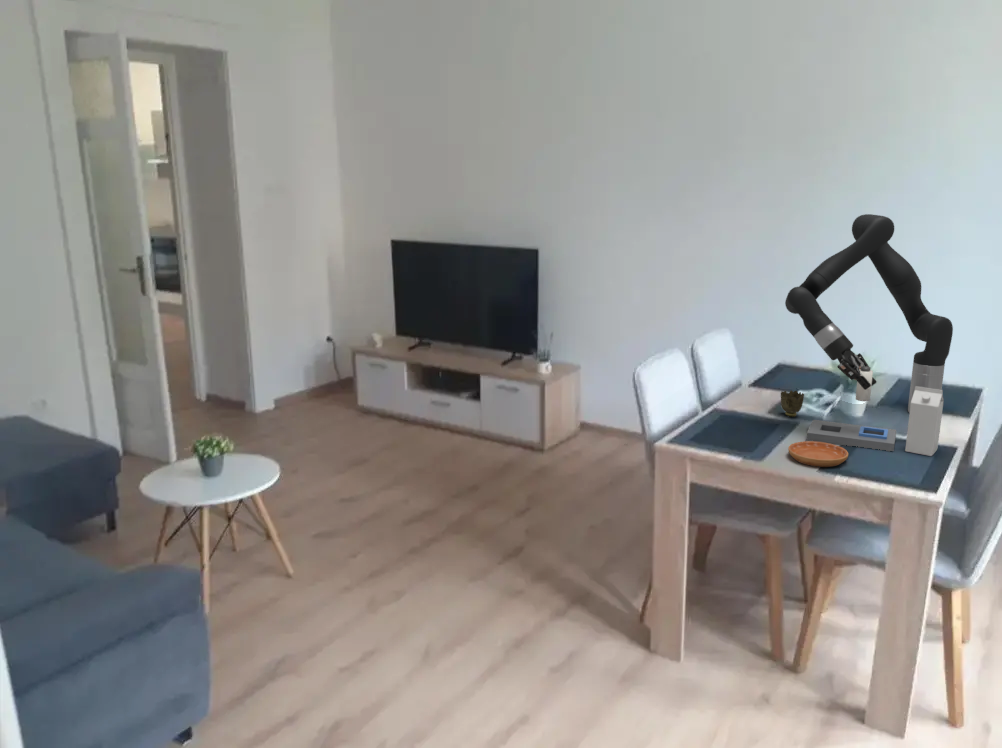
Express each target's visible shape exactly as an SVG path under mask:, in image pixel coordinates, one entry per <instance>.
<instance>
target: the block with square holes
mask: <svg viewBox="0 0 1002 748" xmlns="http://www.w3.org/2000/svg"><path fill="white" fill-rule="evenodd" d="M896 437H897V429H893V428H891V429H890V428H886V427H885V428H884V427H875V426H868V425H861V424H860V425H859V424H853V423H851V424H850V423H845V422H844V423H843V422H834V421H827V420H818V419H812V421H811V423H810V425H809V428H808V430H807V431H806V437H805V438H806V441H815V442H824V443H830V444H834V445H837V446H846V445H847V447H852V446H856V447H855V448H860V447H864V448H863V449H867V448H872V449H871V450H875V449H878V450H877V451H882V450H886V451H885V452H890V451H895V443H896V439H897V438H896ZM857 446H858V447H857ZM879 449H880V450H879Z"/></svg>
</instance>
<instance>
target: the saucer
mask: <svg viewBox="0 0 1002 748" xmlns="http://www.w3.org/2000/svg"><path fill="white" fill-rule="evenodd" d="M787 449H788V454H790V456H791V457H792V458H793V459H794V460H795V461H797V462H798V463H801V464H804V465H807V466H812V467H818V466H819V467H820V468H830V467H836V466H839V465H841V464H842V463H845V461H846V460H847V459H848V457H849V452H848V451H847V449H845V448H844V447H842V446H841V445H837V444H830V443H824V442H815V441H807V440H806V441H799V442H794V443H791V444H790V445H789V446H788V448H787ZM819 467H818V468H819Z"/></svg>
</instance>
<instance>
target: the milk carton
mask: <svg viewBox="0 0 1002 748" xmlns="http://www.w3.org/2000/svg"><path fill="white" fill-rule="evenodd" d="M943 392H944V390H943V389H942V390H938V389H931V388H924V387H917V386H915V391H914V394H913V397H912V400H911V406H910V413H909V416H908V425H907V432H906V441H905V448H904V449H905V450H904V451H905V452H908V453H913V454H917V455H918V454H919V455H923V456H929V457H933V456H934V454H935V453H936V452H937V450H938V448H939V440H940V434H941V425H942V416H943V408H944V401H945V400H944V395H943Z"/></svg>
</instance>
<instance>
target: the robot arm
mask: <svg viewBox="0 0 1002 748" xmlns="http://www.w3.org/2000/svg"><path fill="white" fill-rule="evenodd" d="M851 233H852V236H853V238H854V240H855V241H854V242H853V243H851V244H850V245H848V246H847V247H846V248H843V249H842V250H841V251H840V250H839V252H837V253H835V254H833V255H831V256H830V257H828V258H826V259H825V260H823V261H822V262H820V264H819V265H818V266H817V267H815V268H814V269H813V270H812V271H811V272H810V273H809V274H808V276H806V278H805V280H804V281H803V282H802V283H801V284H800V285H799V286H794V287H793V288H791V289H790V290H789V291H788V293H787V296H786V298H785V303H784V304H785V308H786V310H787V311H788V312H789V313H791V314H794V315H798V316H800V319H802V322H803V325H804V327H805V328H806V330H807V331H808V333H810V335H811V337H813V338H814V340H815V342H816V343H817V344H818V346H819V347H820V348H821V349H822V351H824V353H825V354H826V355H827V356H828V357H829V359H830V360H831V361H835V360H838V362H839V364H838V365H837V368H838V370H840V372H842V373H843V374H844V375H845V376H846V377H847V378H848V379H850V380H851V381H853V380H854V381H856V382H857V381H858V383H859V384H860V385H861V386H862V387H863V389H865V390H866V389H868V388H869V387H870V386H871V384H870V383H869V382H868V381H867V379H866V378H865V377H864V376H863V375H862V373H861V372H860V370H859V369H861V367H862V366H867V367H870V365H869V364H868V362H867V360H865V358H864V356H863V355H862V354H861V353H857V354H856V353H855V352H854V351H852V350H851V349H853V347H854V344H853V343H852V341H851V340H850V339H849V338H848V337H847V336H846V335H845V333H844V332H843V330H841V329H840V328H839V326H838V325H836V324H835V323H834V322H833V321H832V319H831V318H830V317H829V316H828V315H827V314H826V313H825V312H824V311H823V308H821V305H820V303H819V302H818V300H817V299H818V298H819V297H820V296H821V295H823V293H824V292H826V290H828V289H829V288H830V287H831V286H832V285H833V284H834V283H836V281H838V280H839V279H840V278H841V277H842V276H843V275H844V274H846V272H847V271H849V270H850V269H851V268H853V267H854V266H855V265H857V264H858V263H860V262H861V261H863V260H864V259H866V258H867V257H868V258H869V260H870V261H871V262H872V265H873V266H874V268H875V269H876V271H877V273H878V274H879V276H880V278H881V279H882V282H883V283H884V285H885V286H886V288H887V290H888V291H889V293H890V294H891V296H892V297H893V299H894V300H895V302H896V304H897V306H898V307H899V308H900V311H901V312H902V314H903V316H904V318H905V320H906V323H907V324H908V328H909V329H910V332H911V334H912V335H913V337H915V339H917V340H919V341H922V342H924V343H925V347H924V350H922V351H918V352H916V353H914V355H913V363H912V371H911V377H910V385H909V386H910V388H909V398H908V405H907V412H908V413H909V414H910V406H911V400H912V397H913V394H914V391H915V386H917V387H924V388H931V389H938V390H943V388H942V387H943V382H944V374H945V373H944V372H945V366H946V361H947V358H948V356H949V354H950V351H951V350H950V349H951V346H952V345H951V344H952V339H953V332H954V326H953V323H952V321H951V319H950V318H948V317H946V316H942V315H937V314H932V313H931V311H929V310H928V308H927V307H926V306H925V304H924V302H923V301H922V296H921V295H922V281H921V279H920V278H919V275H918V274H917V272H916V270H915V269H914V268H913V266H912V265H911V263H909V261H908V260H906V259H905V258H904V257H903V256H902V255H901V254H900V253H898V251H896V250H895V249H894V248H893V247H892V246H891V244H889V241H890V240H891V239H892V237H893V235H894V233H895V224H894V221H893V220H892V219H891V218H889V216H884V215H878V214H868V213H866V214H865V213H864V214H861V215H858V216H857V217H856V218H855V219H854V220H853V221H852V226H851ZM876 384H877V380H876V378H874V376H872V386H871V387H873V386H874V385H876Z"/></svg>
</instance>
